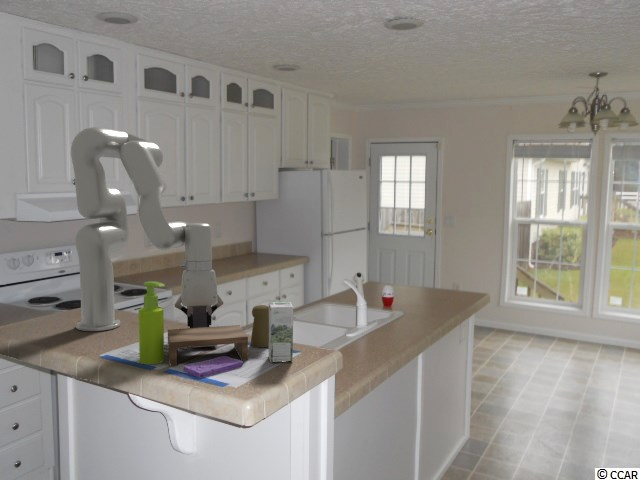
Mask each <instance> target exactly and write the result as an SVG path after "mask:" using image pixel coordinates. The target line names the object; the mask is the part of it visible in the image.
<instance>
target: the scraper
mask: <svg viewBox="0 0 640 480" xmlns="http://www.w3.org/2000/svg"><path fill="white" fill-rule="evenodd" d="M191 313H192V316H193V328H202V327H207V306H195V307H192V312H191ZM216 346H218V345H209V346H208V347H216ZM203 347H207V346H196V347H195V348H203ZM190 348H192V349H193V348H194V347H190Z"/></svg>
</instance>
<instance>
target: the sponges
mask: <svg viewBox="0 0 640 480" xmlns="http://www.w3.org/2000/svg"><path fill="white" fill-rule="evenodd" d="M243 361H244V360H239V359H236V358H232V357H230V356H227V355H222V356H219V357H215V358H211V359H207V360H203V361H198V362H193V363H189V364H185V365H182V366H183V369H182V370H183V372H185V373H187V374H189V375H192V376H193V377H196V378H199V379H202V378H206V377H210V376H213V375H217V374H219V373H224V372H227V371H231V370H234V369H238V368H241V367H242V365H243V364H244V363H243Z"/></svg>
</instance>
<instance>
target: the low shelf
mask: <svg viewBox="0 0 640 480" xmlns="http://www.w3.org/2000/svg"><path fill="white" fill-rule="evenodd" d="M209 345H217V346H219V345H221V346H222V345H234V346H233V348H234V349H235V350H236V352H237V355H238V356H239V358H240V359H241V361H248V360H249V336H248V335H247V334H246V332H245V331H244V329H243V328H242V326H241V325H240V324H238V325H237V324H236V325H235V324H234V325H233V324H232V325H219V326H218V325H217V326H209V327H202V328H190V327H189V328H188V327H187V328H176V329H175V328H174V329H167V353H168V354H167V355H168V359H169V365H170V367H176V366H178V360H177V359H178V358H177V357H178V354H177V353H178V349H181V348H191V347H193V348H197V347H196V346H206V347H210V346H209Z"/></svg>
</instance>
